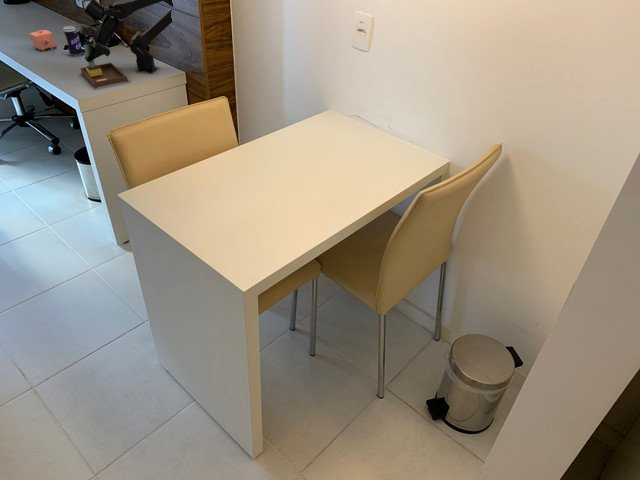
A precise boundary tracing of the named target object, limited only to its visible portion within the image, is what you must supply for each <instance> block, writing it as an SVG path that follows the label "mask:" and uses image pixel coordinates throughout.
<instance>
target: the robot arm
mask: <svg viewBox="0 0 640 480" xmlns="http://www.w3.org/2000/svg"><path fill="white" fill-rule="evenodd" d="M161 2H163V3H166V4H167V5H169V6H170V7H171V6H172V7H173V3H172V0H117V1H114V3H113V4H108V5H105V6H104V5H103V4H102V3H100V2H99V1H98V0H90V1H89V2H88V3H87V5H86V7H84V9H83V13H85V15H87V16H88V17H90V18H91V19H93V20H94V21H95V22H101V23H100V25H96V26H92V25H88V24H84V23H80V25H79V26H80V27H79V33H80V34H81V35H83V36H84V37H86V38H87V39H86V42H87V45H89V47H90V52H89V55H88V57H87V56H86V55H85V57H84V59H85V61H86V62H87V63H88V62H90V61H92V60H94V61H95V59H98V58H100V57H102V56H106V57H109V56H110V54H111V50H110V48H109V47H108V44H109V42H110V40H113V39H114V34H115V33H116V31H117V30H118V28H119V27H121V28H125V23H124V22H125V20H124V19H126V18H128V17H129V16H131V15H132V14H133V13H135V12H136V11H139V10H141V9H144V8H147V7H150V6H152V5H155V4H159V3H161ZM168 11H169V10H168ZM168 11H166V12H167V13H166V12H165V13H164V14H163V15H161V16H160V18H159V19H157V21H155V22H154V23H153V24H152V25H151V26H150V27H149V28H147V29H146V30H145V31H143V32H141V31H140V30H138V31H137V32H136V33H135V34H134V35H132V36H131V39H130V44H129V50H130V52H131V53H132V54H134V55H135V58H136V59H135V62H136V67H137V72H143V73H148V74H152V73H153V72H154V71H155V70H156V69H158V67H157V66H156V64H155V58H154V54H151V52H152V47H151V46H149V45H150V44H151V42H152V41H153V40H154V39H155V38H156V37H157V36H159V35H160V34H161V33H162V32H163V31H164V30H166V28H168V27H169V26H170V25H171V24H172V23H173V22H172V18H171V11H172V10H170V11H169V12H168ZM105 15H106V16H105Z"/></svg>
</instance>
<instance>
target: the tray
mask: <svg viewBox="0 0 640 480" xmlns="http://www.w3.org/2000/svg"><path fill="white" fill-rule="evenodd" d="M96 65H97V66H98V67H99V68H100V69H101V71H102V74H103V75H99V76H94V77H90V76H89V75H88V74H87V72H86V68H87V67H80V72H81V74H82V75H83V77H85V78H86V80H87V81H88V82H89V83H90V84H91V85H92V86H93V87H94V88H100V87H104V86H110V85H115V84H119V83H125V82H128V77H127V75H126V74H125V73H123V72H122V71H121V69H119V68H118V67H117V66H116V65H115V64H114V63H113V62H106V63H102V64H96ZM105 78H106V79H107V80H102V81H96V80H100V79H105Z"/></svg>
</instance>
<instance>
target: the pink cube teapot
mask: <svg viewBox="0 0 640 480" xmlns="http://www.w3.org/2000/svg"><path fill="white" fill-rule="evenodd" d="M29 35H30V36H29V37H30V39H31V42H32V44H33V46H34V48H36V49H37V50H41V51H42V52H44V51H46V49H50V50H54V48H55V47H57V43H56V41H55V37H54V34H53V32H52V31H49V30H47V29H39V30H37V31H33V32H29Z"/></svg>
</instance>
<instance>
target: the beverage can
mask: <svg viewBox="0 0 640 480" xmlns="http://www.w3.org/2000/svg"><path fill="white" fill-rule="evenodd" d="M62 32H63V35H64V38H65V42H66V44H67V45H66V46H67V48H68V51H69V55H71V56H73V57H77V56H81V55H82V54H83V52H84V51H83V46H82V43H81V40H80V37H79V33H78V29H77V28H76V26H74V25H67V26H63V30H62Z"/></svg>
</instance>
